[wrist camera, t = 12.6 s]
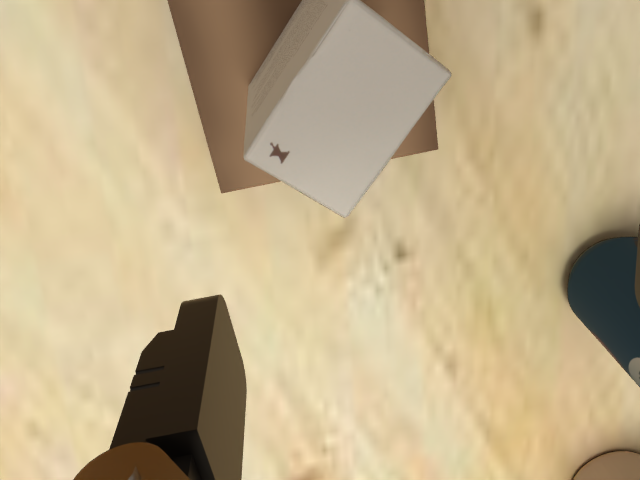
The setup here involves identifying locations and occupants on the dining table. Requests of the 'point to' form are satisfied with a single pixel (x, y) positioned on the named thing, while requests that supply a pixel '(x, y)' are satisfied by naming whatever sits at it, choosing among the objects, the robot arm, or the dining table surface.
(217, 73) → the walnut base
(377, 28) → the skincare box
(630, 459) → the coffee cup
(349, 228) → the dining table surface
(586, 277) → the soda can
